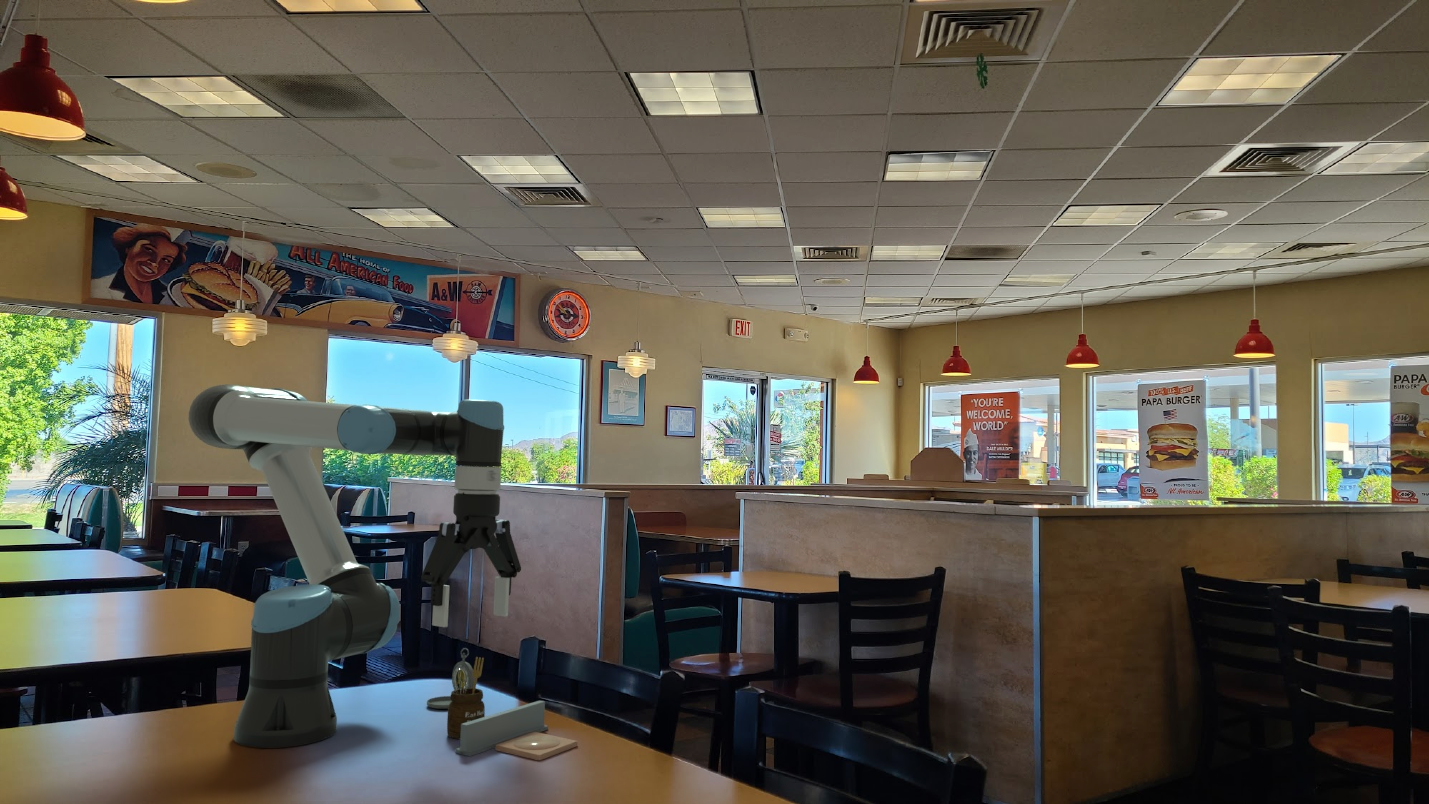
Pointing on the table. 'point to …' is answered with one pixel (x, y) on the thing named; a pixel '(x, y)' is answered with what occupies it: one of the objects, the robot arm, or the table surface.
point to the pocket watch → (455, 683)
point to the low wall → (501, 728)
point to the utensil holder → (465, 704)
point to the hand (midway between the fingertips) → (471, 620)
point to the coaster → (536, 745)
